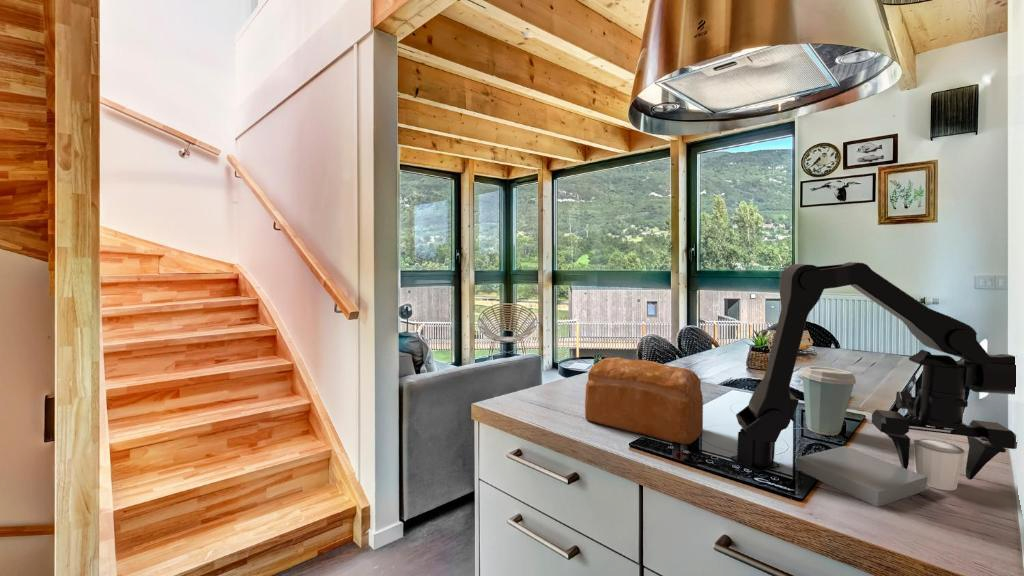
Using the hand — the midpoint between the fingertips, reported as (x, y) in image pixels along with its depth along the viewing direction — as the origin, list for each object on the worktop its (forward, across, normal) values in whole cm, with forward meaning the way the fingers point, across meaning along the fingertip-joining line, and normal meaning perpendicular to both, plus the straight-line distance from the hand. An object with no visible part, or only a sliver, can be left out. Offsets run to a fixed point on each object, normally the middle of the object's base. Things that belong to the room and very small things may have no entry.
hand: (935, 473), depth 85 cm
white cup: (+2, 0, 0) cm, 2 cm away
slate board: (+2, +13, +4) cm, 14 cm away
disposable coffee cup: (+2, +13, -21) cm, 25 cm away
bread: (+2, +53, -8) cm, 53 cm away
